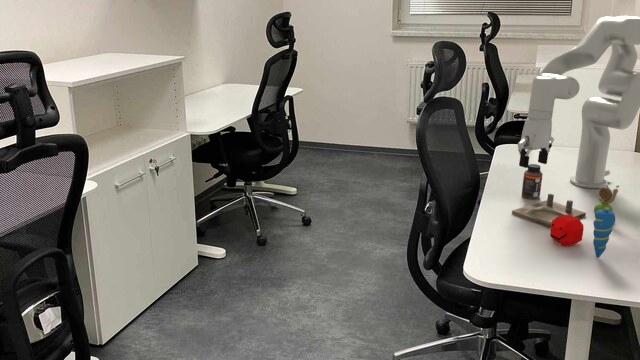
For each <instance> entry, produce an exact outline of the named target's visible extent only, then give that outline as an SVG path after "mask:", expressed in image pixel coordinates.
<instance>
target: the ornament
mask: <svg viewBox="0 0 640 360" xmlns="http://www.w3.org/2000/svg"><path fill="white" fill-rule="evenodd" d="M594 218H595V219H594V220H593V228H594V229H593V238H594V239H593V241H592V242H593V248H594V253H595V258H597V259H599V258H600V257H601V256H602V255H603V254H604V252H605V251H606V249H607V244H608V242H609V240H610V236H611V234H612V232H613V229H614V225H615V223H616V215H615V213H614V211H613V212H612V211H610V210H609V207H608V208H607V207H606V208H605V209H602V210H598V211H596V212H595V214H594Z"/></svg>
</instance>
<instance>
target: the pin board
mask: <svg viewBox="0 0 640 360" xmlns="http://www.w3.org/2000/svg"><path fill="white" fill-rule="evenodd" d="M554 196H555V195H554V193H553V194H552V193H548V194H547V199H546V200H544V201H539V202H535V203H532V204H530V205H526V206H523V207H519V208H516V209H512V210H511V215H513V216H516V217H518V218H520V219H521V218H522V219H524V220H527V221H529V222H531V223H535V224H536V225H540V226H543V227H545V228H547V229H551V223H552V220H554V219H555V218H557V217H558V216H563V215H568V214H569V215H571V216H573V217H575V218H578V219H579V220H580V219H582V218H585V217H586V216H587V213H586V212H584V211H582V210H579V209H576V208H574V207H573V203H574V201H573V200H572V199H571V200H570V199H567V200H566V204H562V203H560V202H556V201H554Z"/></svg>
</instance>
